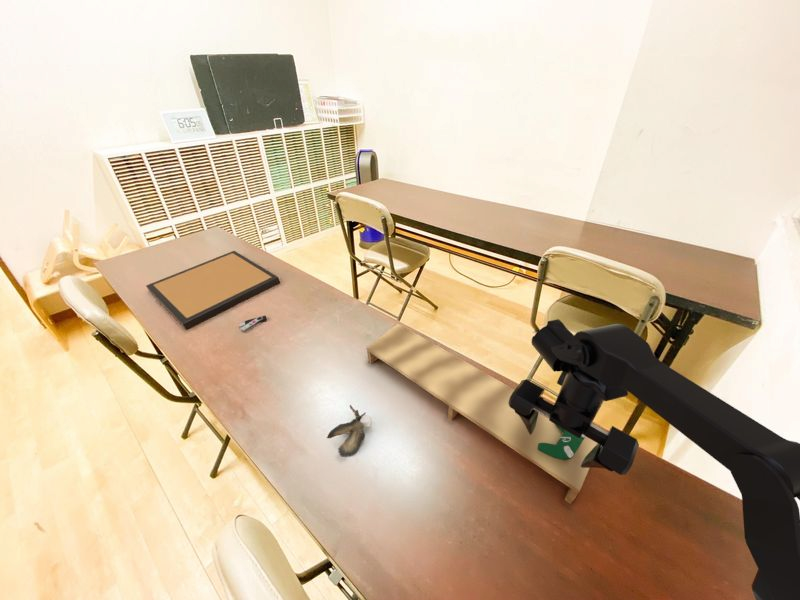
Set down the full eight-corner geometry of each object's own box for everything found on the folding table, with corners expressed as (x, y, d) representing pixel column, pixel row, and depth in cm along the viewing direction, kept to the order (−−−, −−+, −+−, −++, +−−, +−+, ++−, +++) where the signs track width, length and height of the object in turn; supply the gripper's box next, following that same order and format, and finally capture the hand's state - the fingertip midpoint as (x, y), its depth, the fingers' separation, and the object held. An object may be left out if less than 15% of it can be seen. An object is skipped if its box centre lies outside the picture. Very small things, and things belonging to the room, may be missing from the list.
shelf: (591, 454, 69) (601, 439, 66) (570, 504, 62) (580, 490, 58) (398, 338, 100) (398, 323, 96) (368, 362, 92) (366, 347, 88)
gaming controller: (543, 462, 64) (571, 467, 59) (534, 445, 64) (561, 449, 59) (564, 431, 69) (591, 434, 64) (555, 416, 69) (582, 417, 64)
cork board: (236, 256, 145) (149, 291, 124) (234, 250, 144) (145, 285, 123) (280, 283, 127) (186, 330, 106) (278, 277, 125) (182, 323, 104)
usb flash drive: (266, 316, 110) (265, 314, 109) (268, 325, 106) (267, 323, 105) (239, 324, 107) (238, 322, 106) (240, 334, 103) (239, 331, 102)
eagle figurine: (342, 411, 78) (320, 440, 71) (356, 398, 74) (334, 426, 67) (365, 433, 78) (346, 463, 70) (380, 421, 74) (361, 452, 66)
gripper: (665, 394, 48) (625, 449, 58) (543, 338, 59) (526, 392, 68) (648, 447, 42) (607, 499, 51) (515, 374, 52) (500, 428, 62)
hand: (555, 448), depth 58 cm, fingers open, 9 cm apart
